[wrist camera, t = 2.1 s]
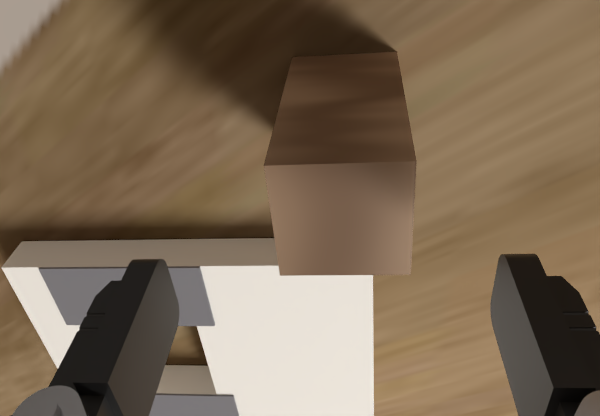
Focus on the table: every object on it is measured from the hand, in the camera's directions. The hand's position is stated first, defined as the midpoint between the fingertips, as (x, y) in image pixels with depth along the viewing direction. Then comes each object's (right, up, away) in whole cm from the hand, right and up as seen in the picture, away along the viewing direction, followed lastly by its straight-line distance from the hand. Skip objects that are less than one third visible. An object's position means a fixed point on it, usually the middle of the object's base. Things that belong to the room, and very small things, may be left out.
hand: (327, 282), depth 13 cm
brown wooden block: (+1, +6, +9) cm, 11 cm away
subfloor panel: (-6, -5, +18) cm, 19 cm away
